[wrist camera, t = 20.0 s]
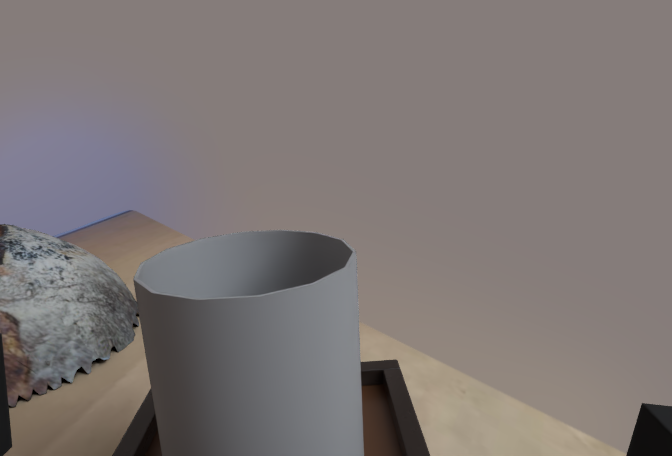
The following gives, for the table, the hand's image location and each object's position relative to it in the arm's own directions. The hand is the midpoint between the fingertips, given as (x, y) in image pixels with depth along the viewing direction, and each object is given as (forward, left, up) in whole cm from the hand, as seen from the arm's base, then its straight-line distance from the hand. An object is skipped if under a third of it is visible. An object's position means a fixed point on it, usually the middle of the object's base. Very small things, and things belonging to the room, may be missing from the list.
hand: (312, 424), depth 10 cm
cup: (+2, -9, -9) cm, 13 cm away
